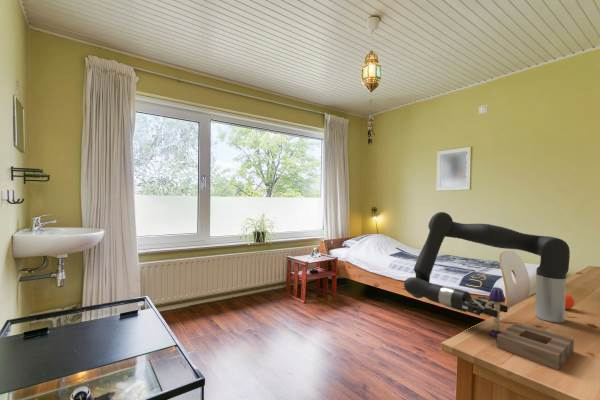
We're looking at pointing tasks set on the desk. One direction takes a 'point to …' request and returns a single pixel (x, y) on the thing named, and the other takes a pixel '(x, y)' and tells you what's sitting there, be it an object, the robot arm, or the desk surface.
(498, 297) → the toy lamp
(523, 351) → the socket block
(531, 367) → the desk surface
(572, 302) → the clementine
